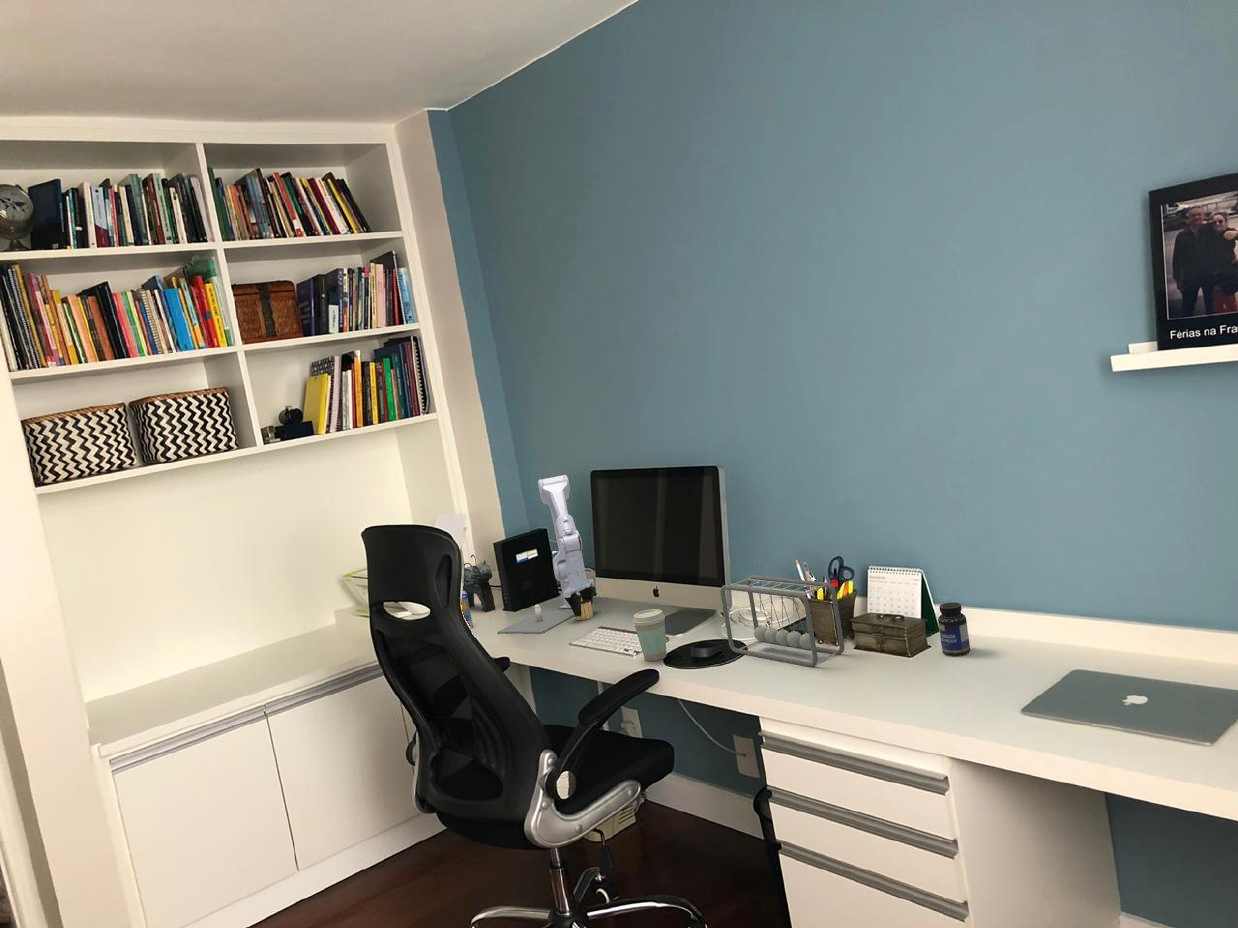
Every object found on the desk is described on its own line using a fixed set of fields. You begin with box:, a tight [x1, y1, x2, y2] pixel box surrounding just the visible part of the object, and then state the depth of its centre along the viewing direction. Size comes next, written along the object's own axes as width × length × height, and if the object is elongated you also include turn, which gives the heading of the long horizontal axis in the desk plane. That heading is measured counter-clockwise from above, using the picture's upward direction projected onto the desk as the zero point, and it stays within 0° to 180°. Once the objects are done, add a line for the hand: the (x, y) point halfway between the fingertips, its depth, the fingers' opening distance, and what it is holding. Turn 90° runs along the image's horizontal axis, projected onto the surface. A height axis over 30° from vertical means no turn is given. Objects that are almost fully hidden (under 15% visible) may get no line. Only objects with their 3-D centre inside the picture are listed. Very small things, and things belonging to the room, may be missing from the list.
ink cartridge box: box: [461, 591, 474, 629], centre depth 329 cm, size 10×6×14 cm, turn 107°
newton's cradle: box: [719, 575, 845, 668], centre depth 244 cm, size 30×10×18 cm, turn 37°
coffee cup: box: [632, 608, 667, 662], centre depth 260 cm, size 9×8×12 cm
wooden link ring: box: [574, 600, 594, 621], centre depth 316 cm, size 6×6×5 cm
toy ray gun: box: [463, 554, 496, 613], centre depth 354 cm, size 20×6×20 cm, turn 37°
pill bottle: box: [937, 601, 971, 657], centre depth 224 cm, size 6×6×11 cm
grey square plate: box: [496, 604, 575, 635], centre depth 319 cm, size 22×18×6 cm
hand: (583, 613), depth 316 cm, fingers closed on wooden link ring, 6 cm apart
